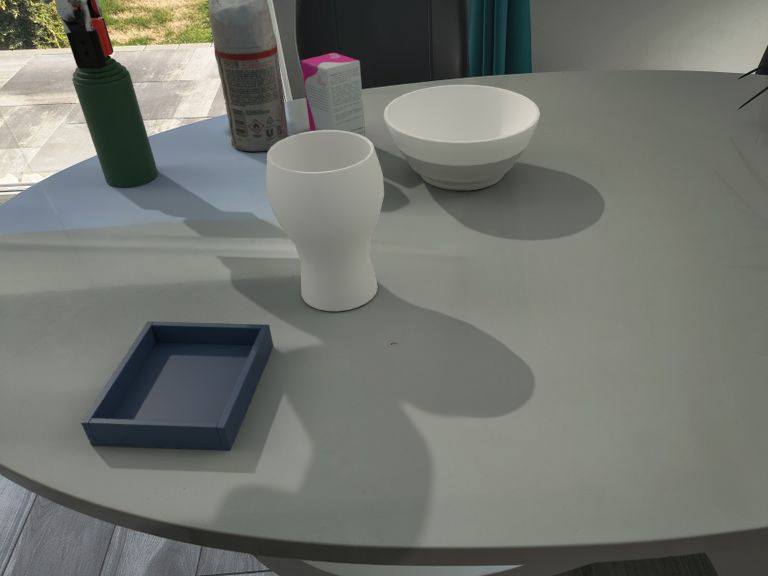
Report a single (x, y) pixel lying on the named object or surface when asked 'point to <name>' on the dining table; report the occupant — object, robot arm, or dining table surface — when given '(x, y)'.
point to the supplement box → (334, 93)
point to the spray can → (249, 72)
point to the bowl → (461, 133)
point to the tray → (181, 387)
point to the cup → (328, 212)
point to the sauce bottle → (115, 124)
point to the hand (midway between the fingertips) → (95, 59)
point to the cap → (102, 35)
